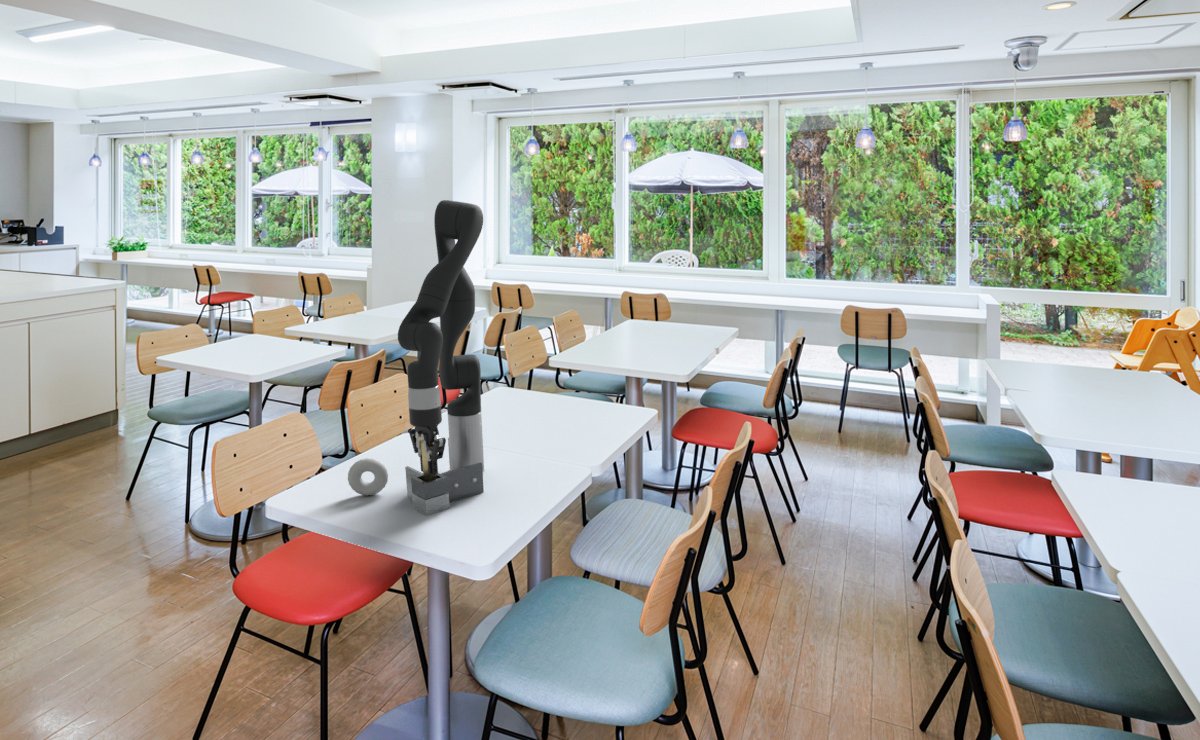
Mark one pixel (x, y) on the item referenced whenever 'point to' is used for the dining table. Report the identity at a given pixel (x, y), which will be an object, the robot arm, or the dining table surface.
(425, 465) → the pin
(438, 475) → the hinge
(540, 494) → the dining table surface
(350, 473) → the donut
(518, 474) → the dining table surface
